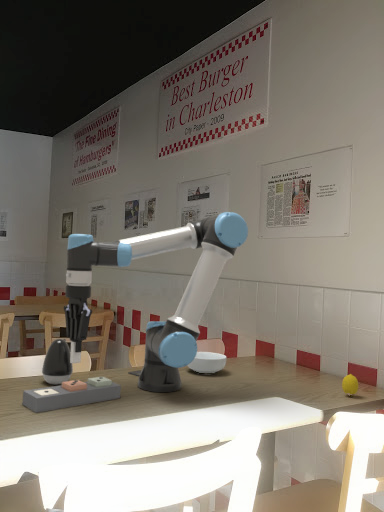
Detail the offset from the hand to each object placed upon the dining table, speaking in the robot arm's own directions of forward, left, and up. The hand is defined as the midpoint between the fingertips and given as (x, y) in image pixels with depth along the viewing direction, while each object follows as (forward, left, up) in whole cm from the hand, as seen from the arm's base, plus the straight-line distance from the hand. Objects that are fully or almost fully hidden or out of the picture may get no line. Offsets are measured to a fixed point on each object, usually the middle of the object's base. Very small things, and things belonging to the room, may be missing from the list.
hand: (75, 362), depth 146 cm
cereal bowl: (-25, -60, -12) cm, 66 cm away
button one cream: (+5, +7, -11) cm, 14 cm away
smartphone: (-5, -47, -12) cm, 49 cm away
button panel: (0, 0, -12) cm, 12 cm away
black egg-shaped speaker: (+16, -16, -12) cm, 26 cm away
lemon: (-81, -51, -12) cm, 97 cm away
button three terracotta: (0, 0, -9) cm, 9 cm away
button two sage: (-4, -8, -9) cm, 13 cm away
